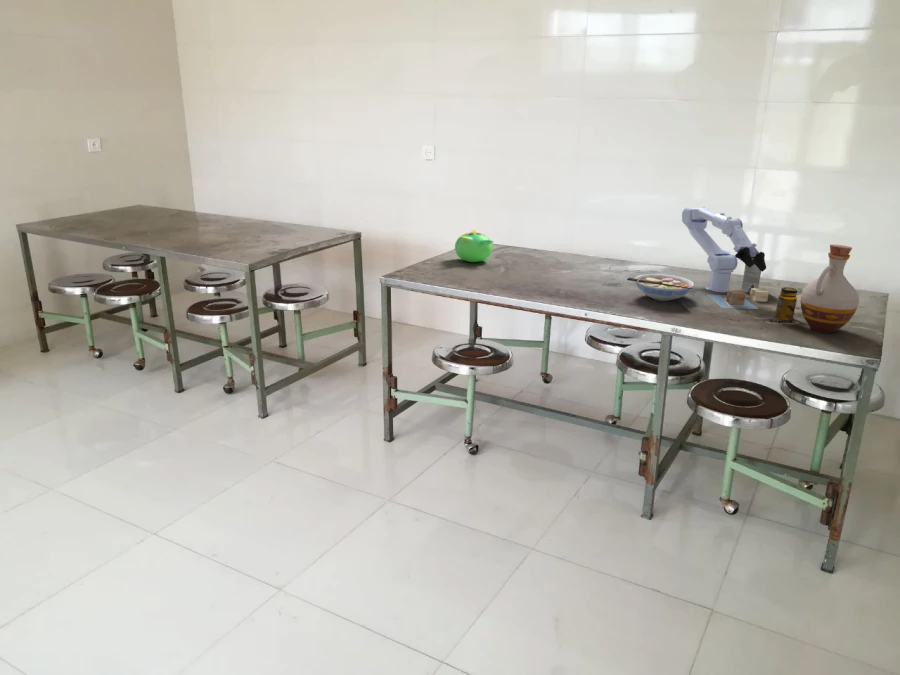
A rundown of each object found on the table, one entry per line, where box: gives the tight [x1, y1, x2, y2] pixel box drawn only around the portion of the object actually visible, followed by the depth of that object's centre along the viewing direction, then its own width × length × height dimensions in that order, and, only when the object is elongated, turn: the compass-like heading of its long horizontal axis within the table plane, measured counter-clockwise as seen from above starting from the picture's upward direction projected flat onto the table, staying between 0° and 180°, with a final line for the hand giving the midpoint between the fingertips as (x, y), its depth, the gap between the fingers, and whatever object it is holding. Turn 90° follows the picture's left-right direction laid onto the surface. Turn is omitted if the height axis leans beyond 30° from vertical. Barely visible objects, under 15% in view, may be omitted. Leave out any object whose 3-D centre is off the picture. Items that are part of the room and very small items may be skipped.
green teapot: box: [454, 229, 494, 263], centre depth 322 cm, size 18×17×15 cm
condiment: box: [770, 286, 798, 325], centre depth 246 cm, size 7×8×12 cm
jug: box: [800, 244, 860, 334], centre depth 233 cm, size 20×18×30 cm
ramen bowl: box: [626, 273, 695, 302], centre depth 270 cm, size 25×23×8 cm
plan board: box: [706, 294, 759, 310], centre depth 266 cm, size 18×14×1 cm
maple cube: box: [749, 287, 770, 303], centre depth 269 cm, size 5×5×5 cm
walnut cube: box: [726, 289, 747, 306], centre depth 262 cm, size 5×5×5 cm
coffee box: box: [740, 257, 762, 294], centre depth 280 cm, size 9×6×16 cm
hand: (757, 267), depth 258 cm, fingers open, 7 cm apart
